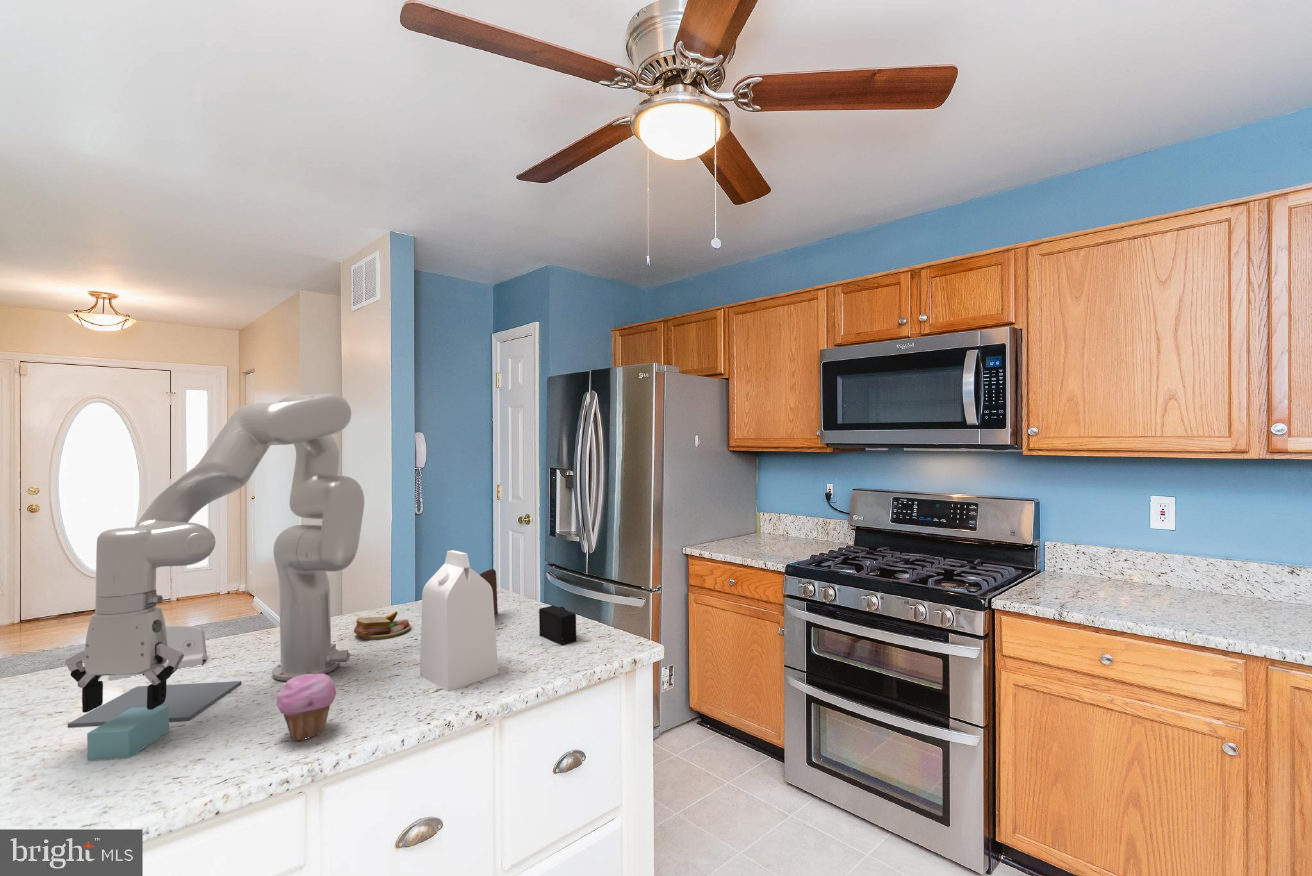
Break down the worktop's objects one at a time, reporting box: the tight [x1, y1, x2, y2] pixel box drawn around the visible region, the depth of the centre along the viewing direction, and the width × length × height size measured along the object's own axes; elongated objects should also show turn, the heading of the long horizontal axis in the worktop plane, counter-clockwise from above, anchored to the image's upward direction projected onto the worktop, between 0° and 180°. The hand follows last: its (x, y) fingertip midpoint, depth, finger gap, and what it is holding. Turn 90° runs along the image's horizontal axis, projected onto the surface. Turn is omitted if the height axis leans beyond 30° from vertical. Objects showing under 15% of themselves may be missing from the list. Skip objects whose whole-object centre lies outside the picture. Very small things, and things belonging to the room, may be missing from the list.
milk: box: [419, 549, 499, 692], centre depth 127 cm, size 12×12×26 cm
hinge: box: [108, 625, 208, 681], centre depth 134 cm, size 17×5×10 cm, turn 118°
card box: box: [86, 706, 170, 761], centre depth 99 cm, size 6×9×4 cm, turn 6°
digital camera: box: [538, 605, 577, 646], centre depth 149 cm, size 10×5×7 cm, turn 42°
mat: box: [67, 680, 242, 728], centre depth 115 cm, size 20×16×1 cm
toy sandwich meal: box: [353, 610, 412, 640], centre depth 156 cm, size 12×14×5 cm
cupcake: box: [276, 673, 337, 742], centre depth 102 cm, size 9×9×10 cm
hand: (124, 707), depth 99 cm, fingers open, 9 cm apart
